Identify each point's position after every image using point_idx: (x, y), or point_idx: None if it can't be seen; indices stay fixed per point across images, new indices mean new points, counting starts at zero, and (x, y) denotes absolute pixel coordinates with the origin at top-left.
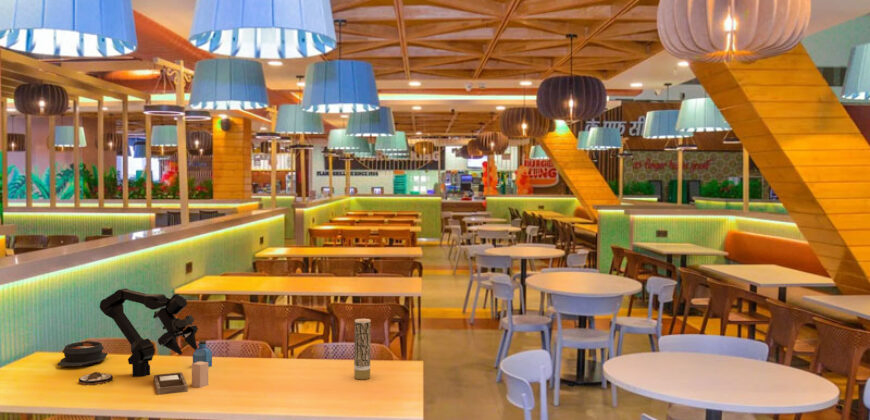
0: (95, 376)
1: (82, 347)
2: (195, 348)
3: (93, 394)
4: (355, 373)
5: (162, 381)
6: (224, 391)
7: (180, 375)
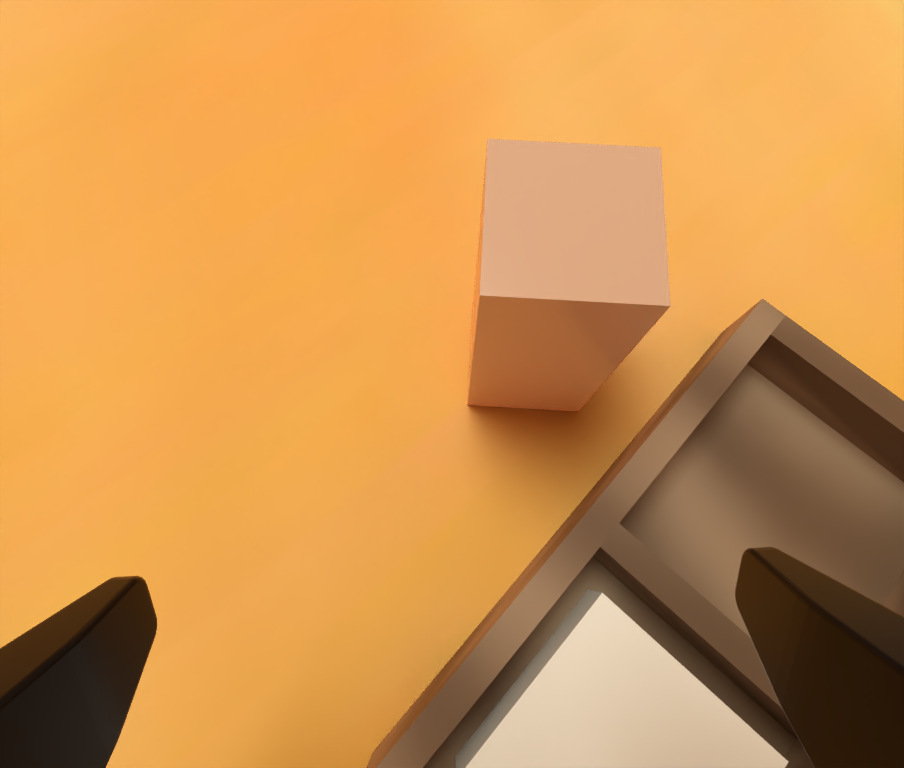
0: None
1: None
2: (139, 613)
3: None
4: None
5: None
6: (518, 117)
7: (484, 690)
